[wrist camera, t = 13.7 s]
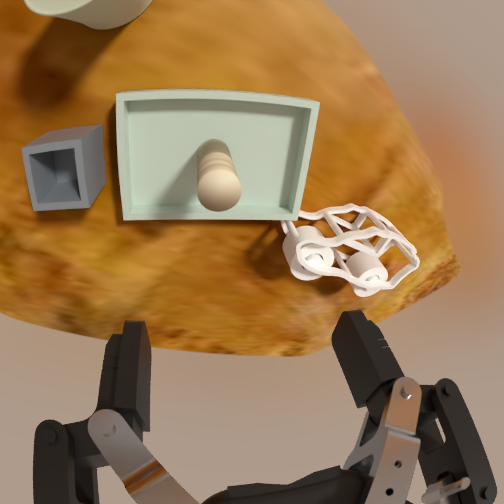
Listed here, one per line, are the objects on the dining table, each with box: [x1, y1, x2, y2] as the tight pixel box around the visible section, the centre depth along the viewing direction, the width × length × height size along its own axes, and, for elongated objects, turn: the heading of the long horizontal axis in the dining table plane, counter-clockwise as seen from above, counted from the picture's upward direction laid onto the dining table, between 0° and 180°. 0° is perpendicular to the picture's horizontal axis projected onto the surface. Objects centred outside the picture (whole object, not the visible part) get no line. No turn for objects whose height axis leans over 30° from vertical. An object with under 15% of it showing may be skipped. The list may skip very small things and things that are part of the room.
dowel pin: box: [197, 139, 242, 212], centre depth 26 cm, size 3×3×10 cm
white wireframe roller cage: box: [280, 204, 420, 297], centre depth 37 cm, size 20×11×7 cm, turn 63°
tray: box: [116, 89, 320, 220], centre depth 29 cm, size 14×20×3 cm
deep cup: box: [22, 124, 107, 211], centre depth 25 cm, size 7×7×6 cm
